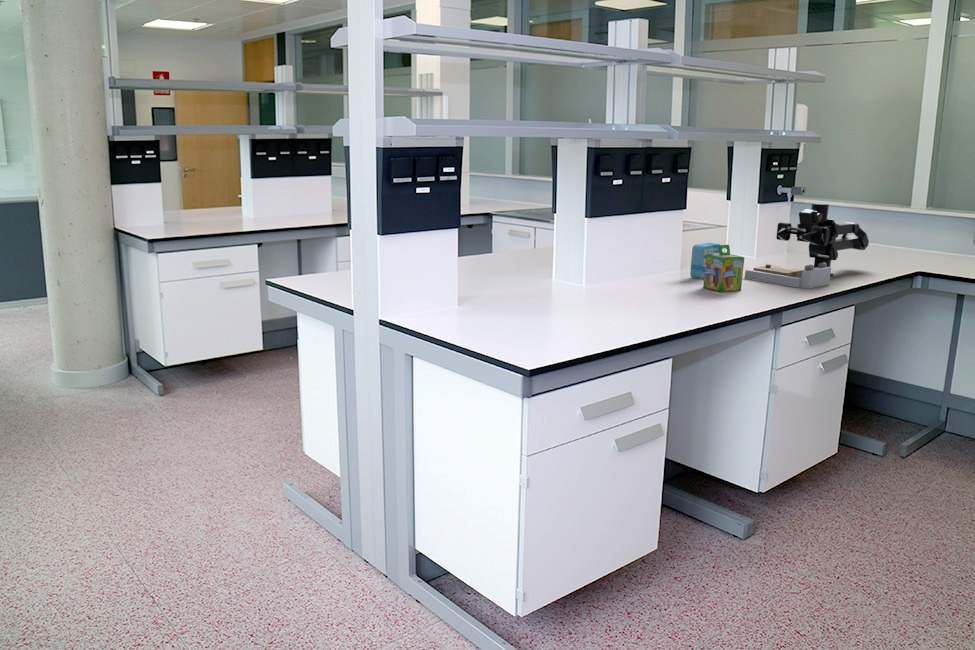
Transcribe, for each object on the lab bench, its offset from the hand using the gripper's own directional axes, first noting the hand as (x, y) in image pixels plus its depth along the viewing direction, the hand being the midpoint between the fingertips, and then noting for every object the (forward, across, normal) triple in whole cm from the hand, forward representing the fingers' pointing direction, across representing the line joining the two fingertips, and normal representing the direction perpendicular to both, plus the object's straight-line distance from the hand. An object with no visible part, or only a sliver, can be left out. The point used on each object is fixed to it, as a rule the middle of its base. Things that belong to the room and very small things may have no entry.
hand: (790, 235), depth 277 cm
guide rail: (+5, -2, +16) cm, 17 cm away
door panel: (-3, -5, +17) cm, 18 cm away
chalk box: (+31, -5, +17) cm, 35 cm away
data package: (+17, -22, +17) cm, 32 cm away
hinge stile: (-2, +10, +16) cm, 19 cm away
